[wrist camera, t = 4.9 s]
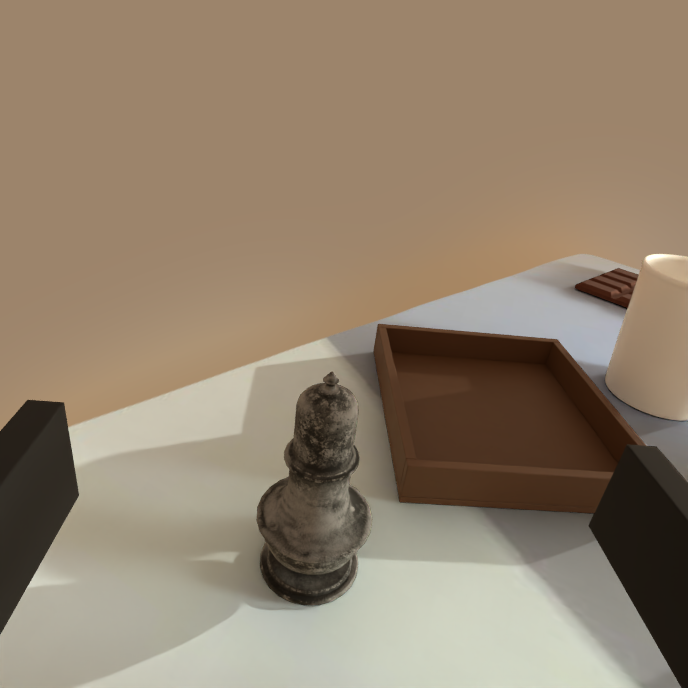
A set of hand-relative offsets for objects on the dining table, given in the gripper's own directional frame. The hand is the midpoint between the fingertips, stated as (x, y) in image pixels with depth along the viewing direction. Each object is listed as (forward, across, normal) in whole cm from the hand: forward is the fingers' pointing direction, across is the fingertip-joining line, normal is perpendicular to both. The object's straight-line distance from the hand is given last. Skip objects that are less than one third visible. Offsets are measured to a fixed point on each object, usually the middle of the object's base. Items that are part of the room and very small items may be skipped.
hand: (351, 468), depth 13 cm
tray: (+24, +14, -15) cm, 32 cm away
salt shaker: (+10, 0, -16) cm, 18 cm away
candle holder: (+30, +32, -15) cm, 46 cm away
